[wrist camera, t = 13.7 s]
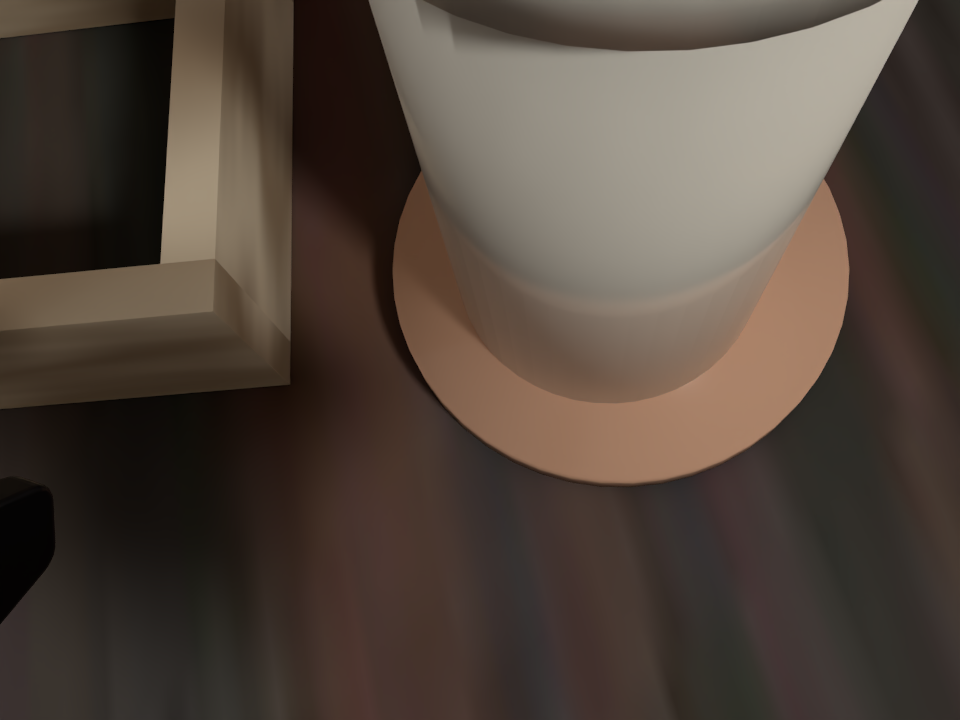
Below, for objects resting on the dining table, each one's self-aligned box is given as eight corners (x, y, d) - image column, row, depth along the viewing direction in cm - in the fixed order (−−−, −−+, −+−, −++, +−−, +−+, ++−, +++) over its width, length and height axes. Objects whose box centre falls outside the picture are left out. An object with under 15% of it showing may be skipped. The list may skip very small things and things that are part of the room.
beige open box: (290, 384, 20) (212, 311, 16) (-187, 424, 21) (-384, 366, 16) (294, -28, 23) (231, -180, 19) (-114, 20, 24) (-261, -115, 20)
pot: (403, 165, 20) (145, -579, 8) (708, 74, 20) (918, -813, 8) (490, 466, 18) (316, 68, 6) (835, 363, 18) (1406, -262, 6)
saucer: (316, 255, 21) (306, 241, 20) (628, 15, 22) (630, -8, 21) (594, 585, 18) (595, 582, 17) (935, 288, 19) (950, 273, 18)
